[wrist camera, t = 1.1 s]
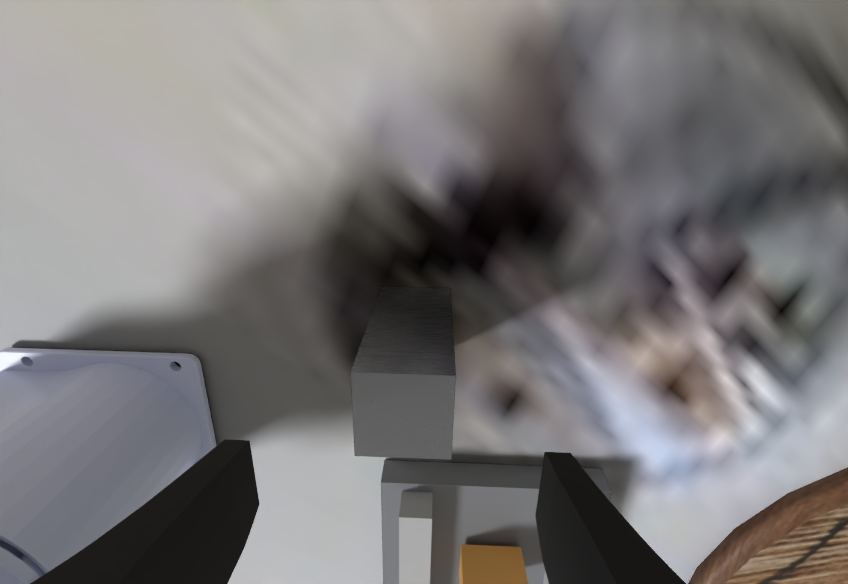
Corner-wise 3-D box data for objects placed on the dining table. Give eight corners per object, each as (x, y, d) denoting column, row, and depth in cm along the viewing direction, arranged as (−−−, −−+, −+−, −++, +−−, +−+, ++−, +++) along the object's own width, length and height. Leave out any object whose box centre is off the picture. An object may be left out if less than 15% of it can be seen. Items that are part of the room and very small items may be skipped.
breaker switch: (460, 544, 22) (463, 594, 20) (521, 547, 22) (530, 597, 20) (459, 572, 23) (461, 623, 20) (517, 574, 23) (526, 626, 20)
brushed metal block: (382, 347, 20) (354, 455, 14) (381, 286, 19) (350, 372, 12) (447, 349, 20) (451, 459, 14) (450, 288, 19) (455, 376, 12)
